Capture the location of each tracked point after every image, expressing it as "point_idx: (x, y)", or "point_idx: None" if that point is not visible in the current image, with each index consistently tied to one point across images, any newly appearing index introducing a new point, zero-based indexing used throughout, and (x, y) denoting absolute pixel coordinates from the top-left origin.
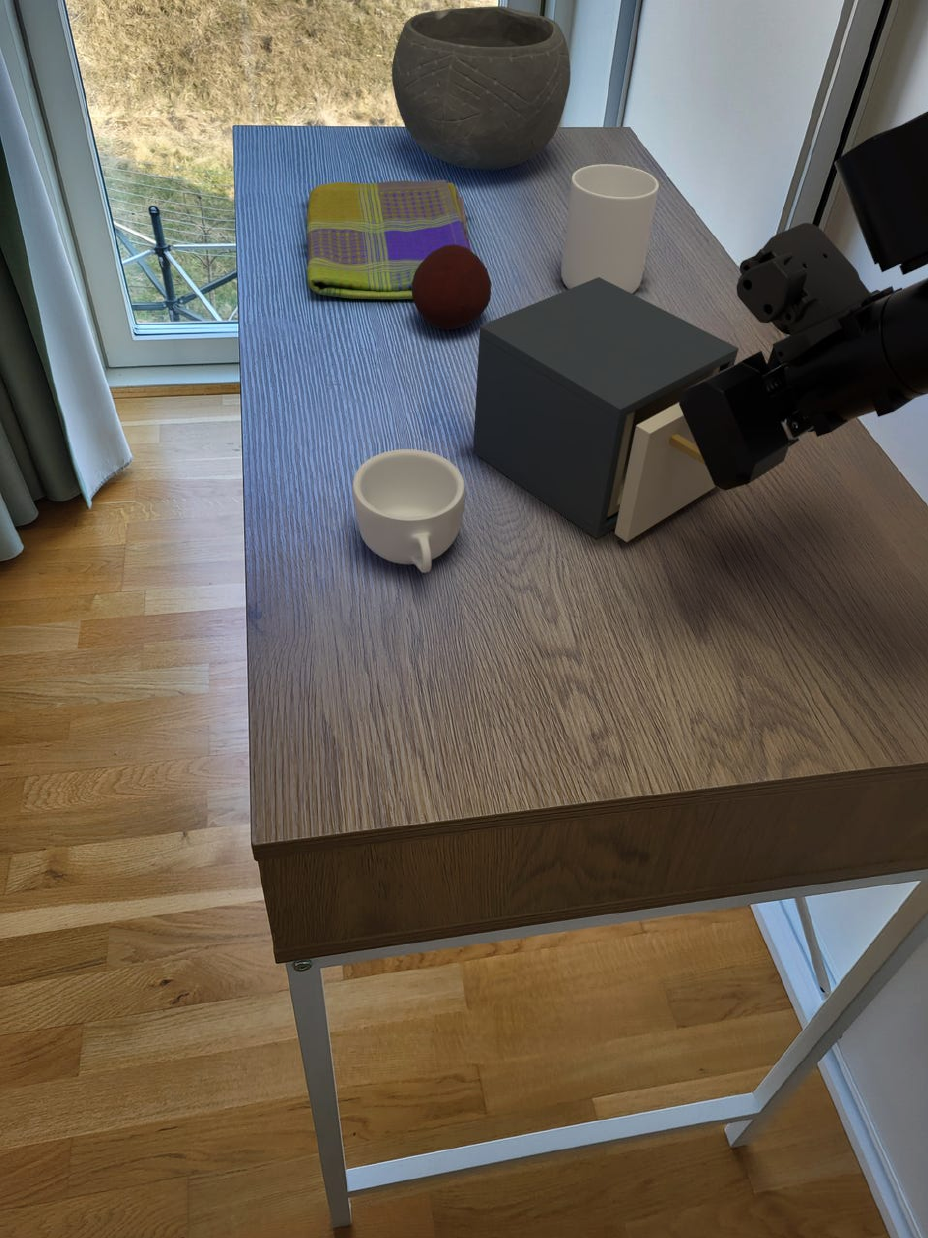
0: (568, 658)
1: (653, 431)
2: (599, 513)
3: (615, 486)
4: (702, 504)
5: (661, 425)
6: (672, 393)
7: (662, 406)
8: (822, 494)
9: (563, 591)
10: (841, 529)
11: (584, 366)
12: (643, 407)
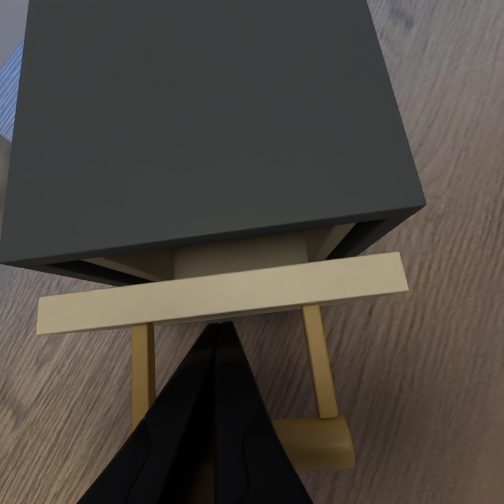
0: (12, 415)
1: (46, 333)
2: None
3: (151, 279)
4: (295, 311)
5: (75, 326)
6: None
7: None
8: (449, 382)
9: (76, 336)
10: (421, 450)
11: (68, 111)
12: None
